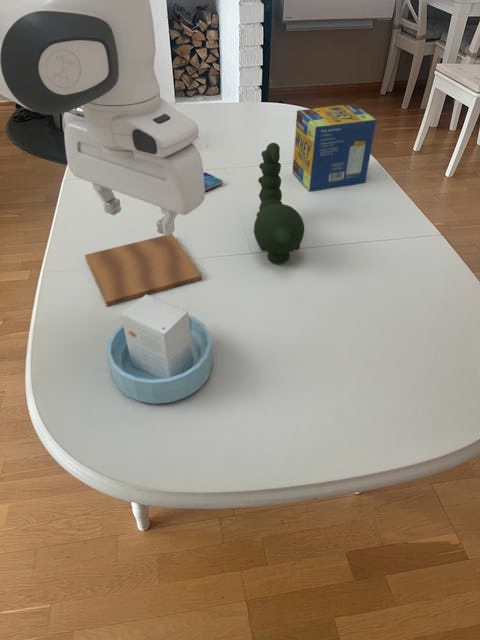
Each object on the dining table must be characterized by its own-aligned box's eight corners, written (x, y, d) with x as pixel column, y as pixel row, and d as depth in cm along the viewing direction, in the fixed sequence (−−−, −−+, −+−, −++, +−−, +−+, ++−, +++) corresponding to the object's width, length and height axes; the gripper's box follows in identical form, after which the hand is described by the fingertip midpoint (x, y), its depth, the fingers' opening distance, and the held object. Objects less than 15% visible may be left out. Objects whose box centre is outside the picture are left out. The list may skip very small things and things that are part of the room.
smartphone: (154, 190, 121) (204, 171, 128) (155, 194, 121) (205, 174, 129) (173, 201, 117) (223, 180, 124) (173, 204, 117) (223, 184, 125)
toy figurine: (247, 222, 115) (257, 282, 95) (247, 135, 104) (259, 182, 84) (289, 220, 116) (308, 280, 96) (293, 134, 104) (316, 180, 84)
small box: (194, 363, 80) (190, 311, 73) (171, 387, 76) (165, 334, 69) (153, 344, 83) (146, 292, 76) (130, 365, 79) (119, 313, 72)
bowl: (129, 420, 72) (123, 396, 69) (101, 350, 83) (95, 327, 79) (228, 384, 77) (227, 361, 74) (190, 323, 88) (188, 300, 84)
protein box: (291, 173, 130) (295, 110, 119) (347, 164, 133) (356, 102, 123) (308, 192, 122) (314, 126, 112) (366, 182, 126) (378, 118, 116)
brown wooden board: (106, 306, 91) (105, 302, 90) (85, 259, 102) (84, 254, 101) (202, 279, 97) (201, 275, 96) (172, 237, 107) (172, 233, 107)
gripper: (42, 108, 63) (67, 210, 72) (174, 147, 54) (183, 256, 64) (80, 94, 67) (99, 192, 76) (210, 128, 58) (213, 233, 68)
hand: (139, 222), depth 70 cm, fingers open, 8 cm apart
